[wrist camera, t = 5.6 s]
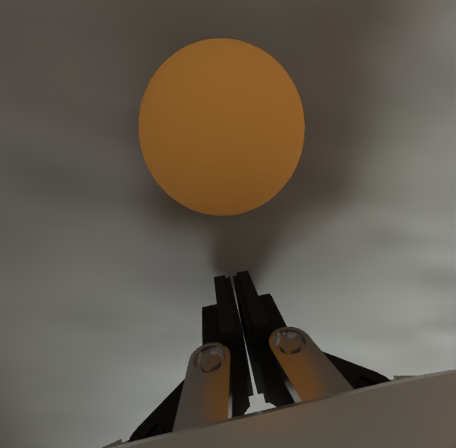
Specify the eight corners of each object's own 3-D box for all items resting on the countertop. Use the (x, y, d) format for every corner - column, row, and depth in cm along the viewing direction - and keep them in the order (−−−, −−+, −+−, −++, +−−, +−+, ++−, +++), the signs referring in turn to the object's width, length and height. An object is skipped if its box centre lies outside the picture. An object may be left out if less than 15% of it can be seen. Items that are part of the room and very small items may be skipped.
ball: (274, -52, 6) (244, 87, 12) (66, 31, 6) (137, 135, 11) (379, 139, 6) (298, 188, 12) (175, 244, 6) (192, 243, 11)
